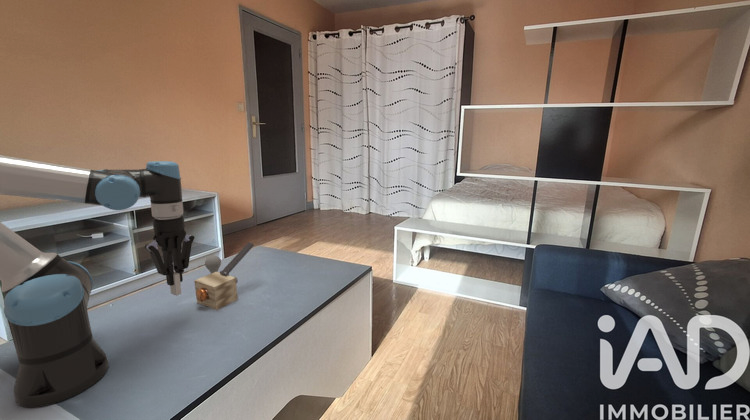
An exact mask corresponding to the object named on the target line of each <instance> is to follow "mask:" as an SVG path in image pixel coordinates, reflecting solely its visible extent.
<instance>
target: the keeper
mask: <svg viewBox="0 0 750 420" xmlns="http://www.w3.org/2000/svg"><path fill="white" fill-rule="evenodd" d="M253 247H255V245H254V243H252V242H247V243H246V244H245V245H244V247H242V249H241V250H240V251H239V252H238V253H237V254H236V255H235V256H234V257H233V259H231V261H230V262H229V263H228V264H227V265H226V266H225V267H224V268H223V269H222V270H220V272H219V273H220V274H222V275H225V276H228V275H229V276H230V273H231V272H232V271H233V270H234V269H235V267H236V266H237V265H238V264H240V262H241V261H242V259H243V258H244V257H245V256H246V255H247V254H248V253H249V252H250V251H251V250H252V249H253Z"/></svg>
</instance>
